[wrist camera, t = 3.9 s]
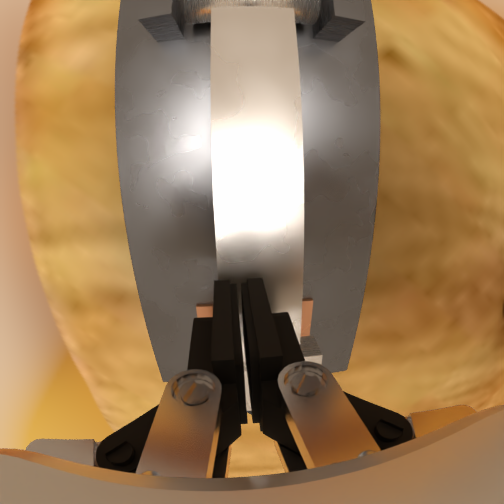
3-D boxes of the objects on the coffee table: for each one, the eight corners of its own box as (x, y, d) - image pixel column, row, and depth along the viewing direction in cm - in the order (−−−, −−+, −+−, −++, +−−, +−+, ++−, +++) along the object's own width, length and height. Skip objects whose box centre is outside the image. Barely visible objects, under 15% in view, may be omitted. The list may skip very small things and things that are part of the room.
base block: (147, 28, 13) (98, -28, 5) (338, 26, 13) (398, -24, 6) (174, 335, 21) (155, 417, 14) (327, 326, 22) (360, 403, 14)
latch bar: (191, -2, 8) (185, -26, 6) (306, -1, 9) (317, -24, 7) (210, 390, 13) (208, 417, 11) (308, 383, 13) (317, 409, 12)
